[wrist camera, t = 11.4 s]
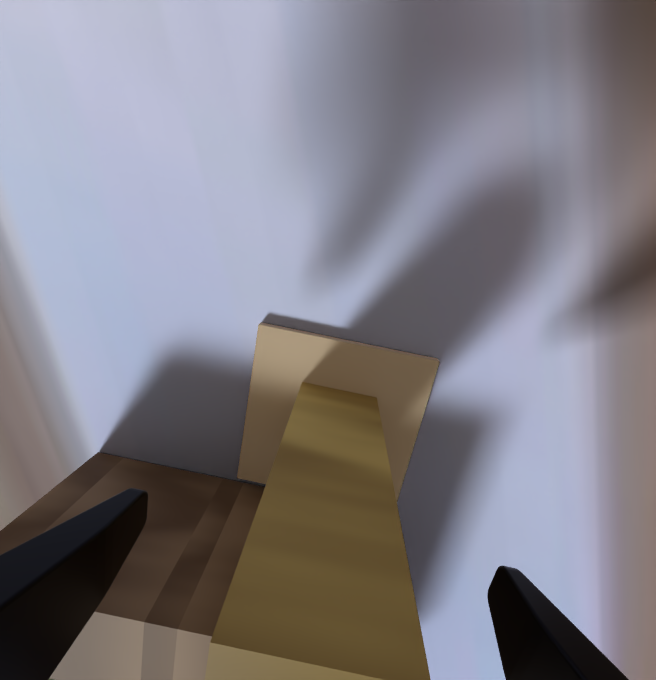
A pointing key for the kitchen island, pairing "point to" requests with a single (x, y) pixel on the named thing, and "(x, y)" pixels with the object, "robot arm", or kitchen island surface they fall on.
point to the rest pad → (334, 372)
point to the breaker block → (151, 567)
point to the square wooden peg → (323, 559)
